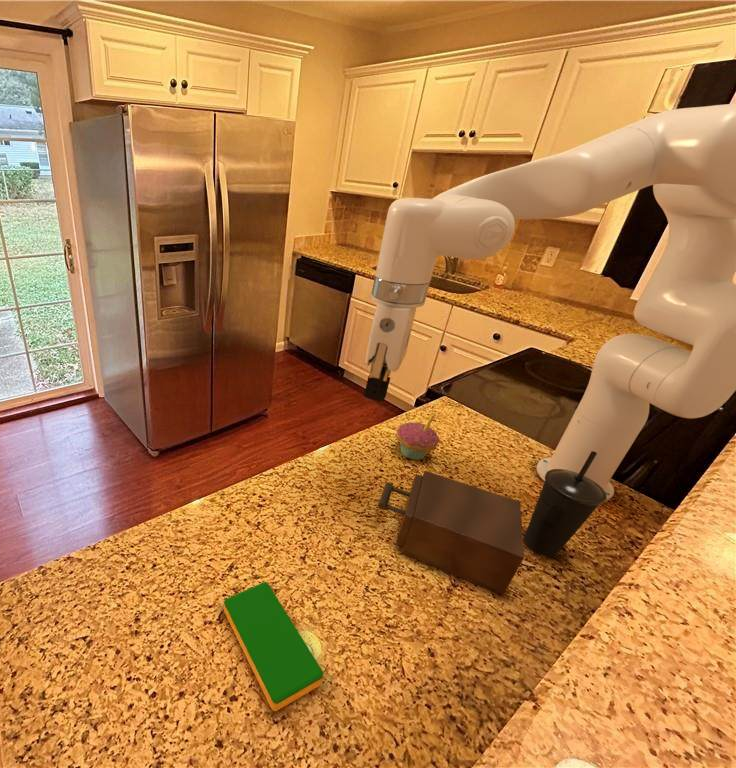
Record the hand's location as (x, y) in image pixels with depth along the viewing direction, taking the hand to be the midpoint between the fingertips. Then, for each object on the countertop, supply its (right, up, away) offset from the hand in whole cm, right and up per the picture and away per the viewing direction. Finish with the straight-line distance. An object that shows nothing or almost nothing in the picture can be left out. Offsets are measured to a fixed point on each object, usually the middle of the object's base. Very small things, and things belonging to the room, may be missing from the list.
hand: (374, 397), depth 69 cm
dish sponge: (-19, -33, -14) cm, 41 cm away
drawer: (+10, -23, +2) cm, 26 cm away
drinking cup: (+29, -25, +1) cm, 39 cm away
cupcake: (+17, -13, +22) cm, 31 cm away
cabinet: (+14, -25, +1) cm, 29 cm away
